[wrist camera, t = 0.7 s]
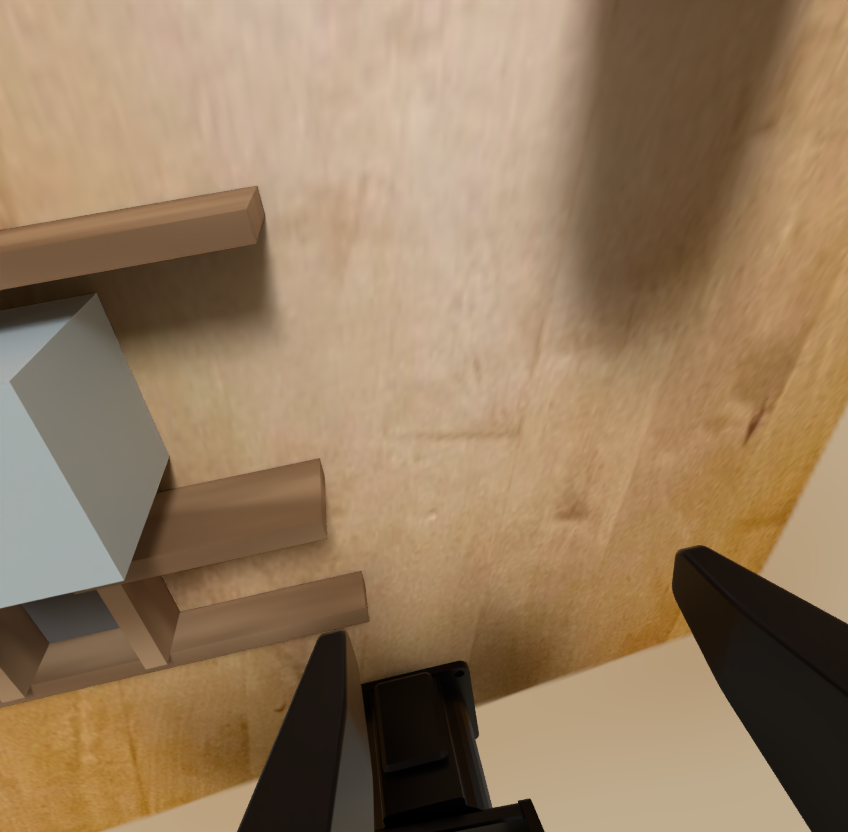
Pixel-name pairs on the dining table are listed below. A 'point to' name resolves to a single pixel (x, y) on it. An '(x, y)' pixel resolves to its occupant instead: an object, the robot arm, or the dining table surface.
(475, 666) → the dining table surface
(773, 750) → the robot arm
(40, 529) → the cube
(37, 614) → the wooden compartment tray
